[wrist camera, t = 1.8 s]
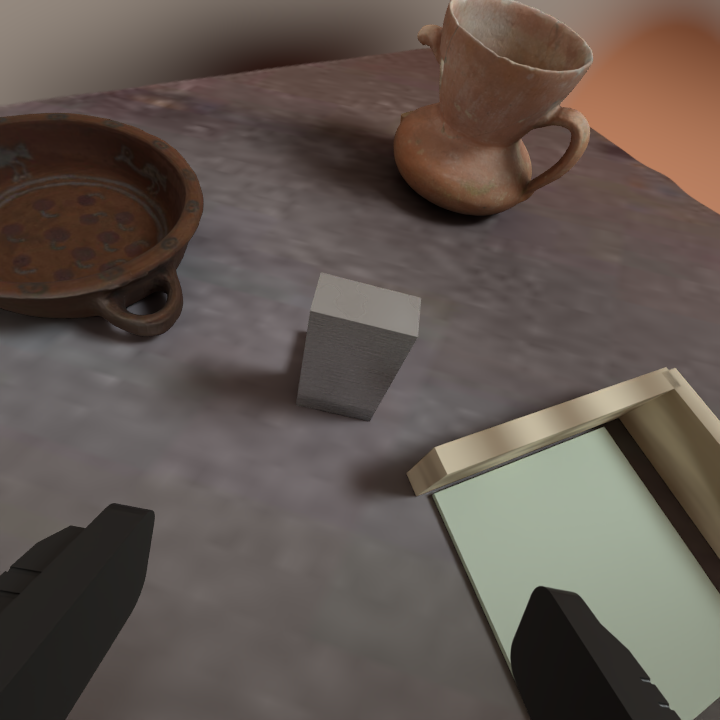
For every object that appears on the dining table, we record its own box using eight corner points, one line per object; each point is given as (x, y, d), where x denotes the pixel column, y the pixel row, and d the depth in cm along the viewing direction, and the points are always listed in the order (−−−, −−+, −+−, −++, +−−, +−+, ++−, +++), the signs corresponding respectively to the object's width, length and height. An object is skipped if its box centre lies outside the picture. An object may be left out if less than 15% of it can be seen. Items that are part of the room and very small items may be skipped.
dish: (100, 135, 36) (79, 73, 32) (275, 273, 32) (277, 223, 27) (-143, 213, 27) (-218, 141, 23) (55, 421, 23) (7, 380, 18)
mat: (600, 428, 30) (604, 426, 29) (756, 657, 23) (763, 658, 23) (431, 495, 25) (434, 493, 24) (574, 813, 18) (580, 817, 18)
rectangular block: (369, 421, 26) (417, 336, 18) (295, 404, 26) (310, 310, 18) (380, 348, 30) (425, 248, 21) (314, 332, 29) (334, 224, 21)
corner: (619, 396, 32) (672, 364, 28) (797, 637, 24) (906, 645, 20) (406, 473, 25) (434, 447, 21) (564, 842, 18) (657, 916, 13)
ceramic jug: (349, 165, 41) (385, -12, 29) (425, 124, 48) (479, -32, 36) (491, 268, 37) (598, 116, 25) (549, 207, 45) (655, 66, 33)
